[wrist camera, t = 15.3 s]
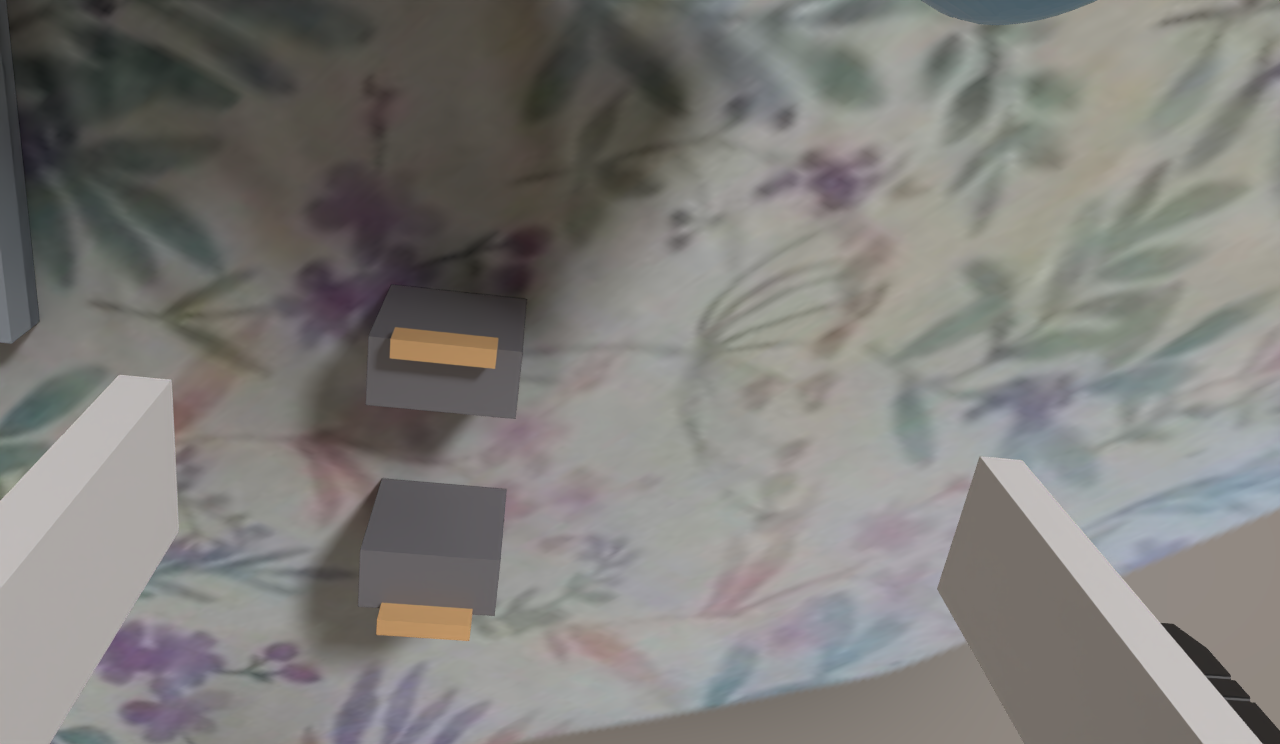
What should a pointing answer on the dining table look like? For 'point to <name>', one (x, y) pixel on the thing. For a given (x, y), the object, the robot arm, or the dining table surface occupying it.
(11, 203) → the tray
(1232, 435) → the dining table surface
